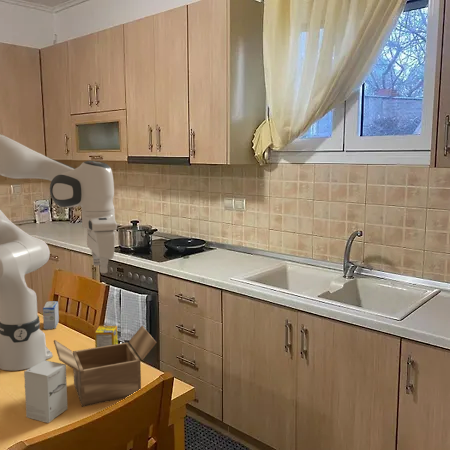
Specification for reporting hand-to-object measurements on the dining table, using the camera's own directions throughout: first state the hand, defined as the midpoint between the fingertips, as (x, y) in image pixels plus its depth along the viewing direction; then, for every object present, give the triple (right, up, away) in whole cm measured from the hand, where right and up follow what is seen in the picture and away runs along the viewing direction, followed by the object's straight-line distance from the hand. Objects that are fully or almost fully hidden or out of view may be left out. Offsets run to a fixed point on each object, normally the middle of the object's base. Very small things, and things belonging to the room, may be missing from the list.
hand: (100, 268), depth 136 cm
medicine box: (-32, -27, +50) cm, 65 cm away
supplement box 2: (-3, -32, +19) cm, 37 cm away
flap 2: (+11, -21, +4) cm, 24 cm away
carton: (+2, -34, +1) cm, 34 cm away
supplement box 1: (-11, -36, -12) cm, 40 cm away
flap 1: (-8, -23, -5) cm, 25 cm away
